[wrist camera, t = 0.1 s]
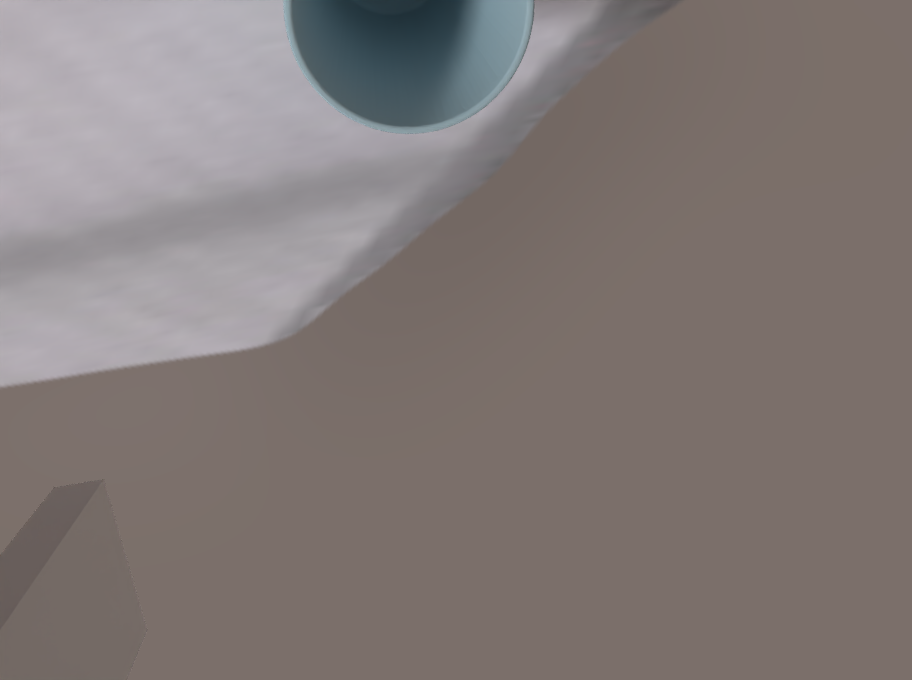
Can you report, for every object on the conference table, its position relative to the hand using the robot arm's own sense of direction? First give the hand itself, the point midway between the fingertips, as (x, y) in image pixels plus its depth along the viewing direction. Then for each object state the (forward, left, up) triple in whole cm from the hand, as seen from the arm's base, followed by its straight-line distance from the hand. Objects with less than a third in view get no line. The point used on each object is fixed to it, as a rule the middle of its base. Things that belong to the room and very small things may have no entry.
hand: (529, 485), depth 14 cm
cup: (-2, -2, -28) cm, 28 cm away
